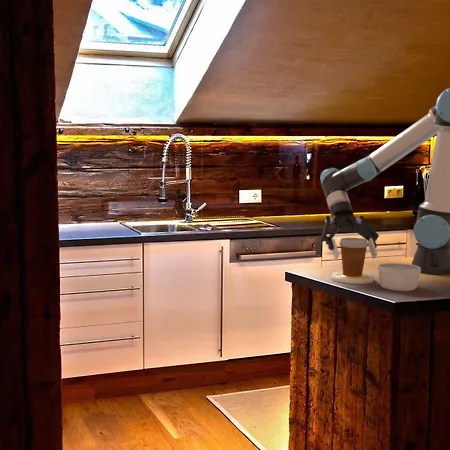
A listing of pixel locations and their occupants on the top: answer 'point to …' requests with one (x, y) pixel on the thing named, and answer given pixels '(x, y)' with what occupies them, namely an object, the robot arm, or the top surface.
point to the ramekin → (399, 276)
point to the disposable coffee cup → (353, 256)
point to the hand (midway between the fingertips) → (356, 257)
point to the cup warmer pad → (352, 278)
